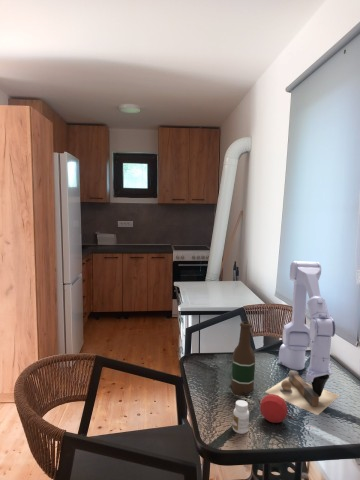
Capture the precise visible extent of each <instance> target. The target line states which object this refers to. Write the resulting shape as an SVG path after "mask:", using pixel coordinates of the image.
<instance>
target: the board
mask: <svg viewBox="0 0 360 480" xmlns="http://www.w3.org/2000/svg"><path fill="white" fill-rule="evenodd" d="M306 383H307V384H308V385H309V387H311V388H312V384H311V383H308V382H306ZM312 389H313V388H312ZM264 393H266V394H267V395H268V394H269V395H270V394H274V395H278V396H280V397H281V398H283V399H284V401H285V402H286V403H289V404H291V405H293V406H296V407H298V408H300V409H302V410H305V411H307V412H309V413H311V414H314V415H316V416H319V415H320V414H321V413H322V412H323V411H324V410H326V408H328V407H329V406H330V405H331V404H332V403H333V402H334V401H336V399H337V398H339V397H340V394H337V393H334V392H331V391H329V390H327V389H324V388H323V391H322V394H321V396H320V397H319V403H318V406H312V405H310V404H309V402H308V401H307V400H306V399H305V398H304V396H303V395H302V394H301V392H300V391H299V390H298V389H297V388H296V387H295V386H294V384H293V383H292V382H290V381H289V376H287V377H285V378H284V379H282V380H281V381H280V382H278V383H276V384H275V385H273V386H272V387H270V388H269V389H267V390H265V391H264Z"/></svg>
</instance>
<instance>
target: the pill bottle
mask: <svg viewBox="0 0 360 480" xmlns="http://www.w3.org/2000/svg"><path fill="white" fill-rule="evenodd" d="M232 412H233V414H232V415H233V416H232V430H233V431H234V432H235V433H237V434H241V435H242V434H246V433H248V431H249V427H250V426H249V425H250V424H249V423H250V411H249V403H248V402H247V401H245V400H244V399H238V400H236V401H235V407H234V409H233V411H232Z"/></svg>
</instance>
